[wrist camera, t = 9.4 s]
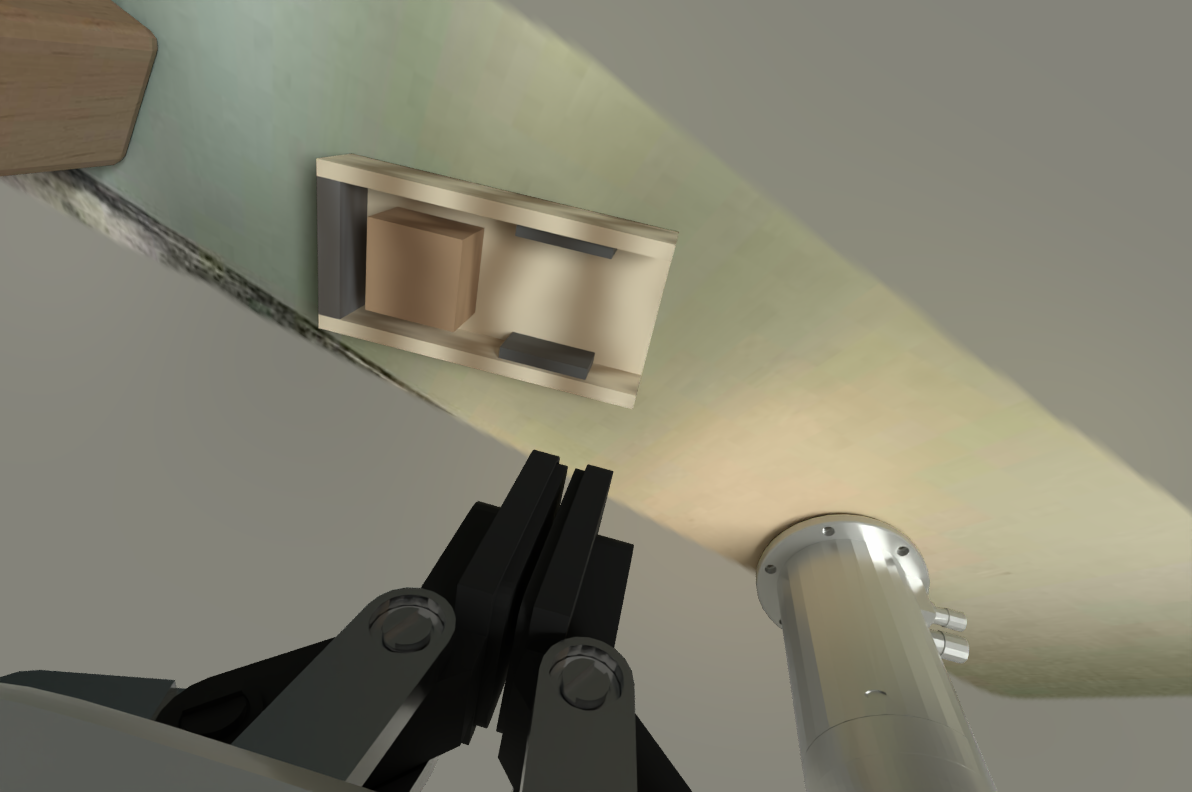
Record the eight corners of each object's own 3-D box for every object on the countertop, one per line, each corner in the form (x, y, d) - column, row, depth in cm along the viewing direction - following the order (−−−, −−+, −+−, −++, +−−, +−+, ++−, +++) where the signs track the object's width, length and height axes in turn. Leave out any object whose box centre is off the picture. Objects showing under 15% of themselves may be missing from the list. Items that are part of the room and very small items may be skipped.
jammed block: (484, 227, 40) (462, 240, 36) (474, 313, 42) (453, 332, 39) (397, 206, 40) (367, 216, 36) (393, 292, 43) (365, 309, 39)
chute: (678, 232, 38) (675, 244, 35) (638, 384, 43) (632, 409, 40) (351, 153, 40) (316, 158, 36) (349, 310, 45) (318, 327, 41)
